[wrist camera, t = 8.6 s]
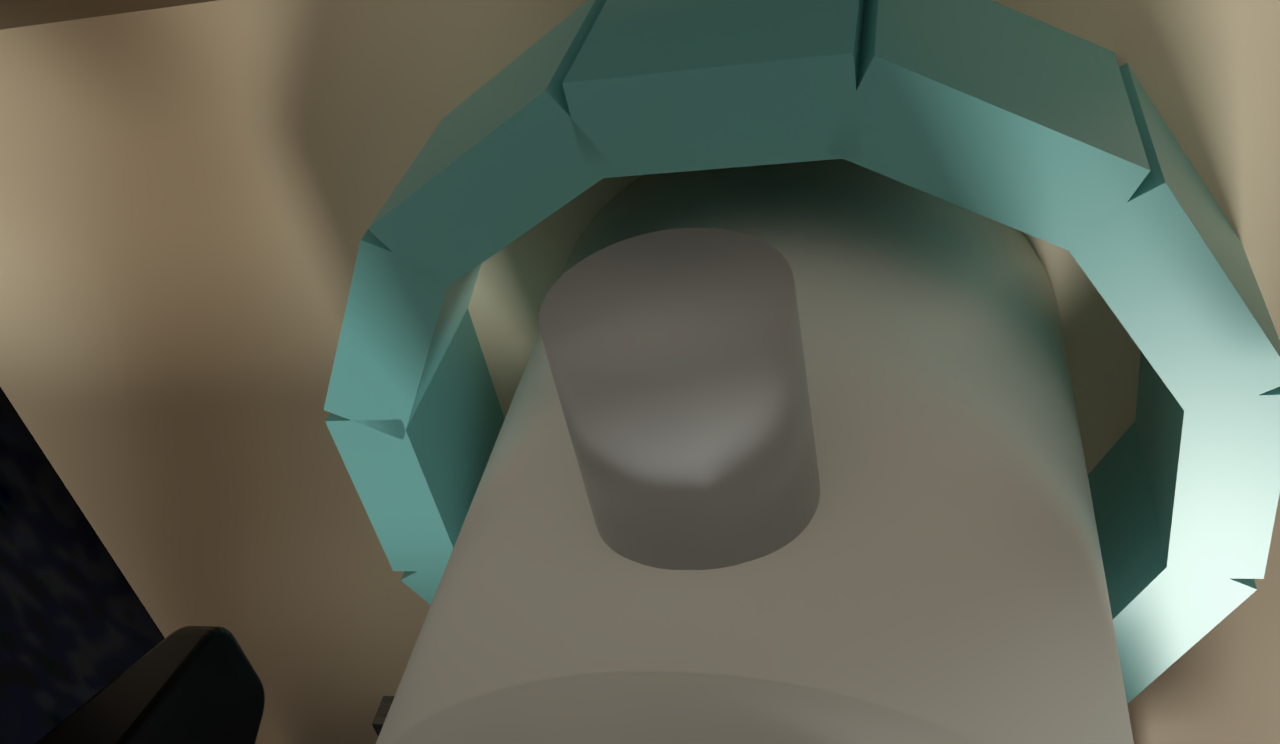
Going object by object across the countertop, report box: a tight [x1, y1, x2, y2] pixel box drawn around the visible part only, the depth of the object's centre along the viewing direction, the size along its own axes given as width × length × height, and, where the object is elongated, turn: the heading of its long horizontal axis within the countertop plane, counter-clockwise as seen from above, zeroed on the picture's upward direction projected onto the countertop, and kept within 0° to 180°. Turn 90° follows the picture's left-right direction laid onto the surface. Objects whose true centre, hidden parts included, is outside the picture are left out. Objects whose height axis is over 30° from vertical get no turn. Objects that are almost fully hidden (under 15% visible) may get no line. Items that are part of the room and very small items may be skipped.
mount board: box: [0, 0, 1280, 744], centre depth 15 cm, size 18×17×1 cm
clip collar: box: [324, 0, 1280, 704], centre depth 12 cm, size 8×8×2 cm
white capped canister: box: [376, 159, 1134, 744], centre depth 9 cm, size 5×7×7 cm
